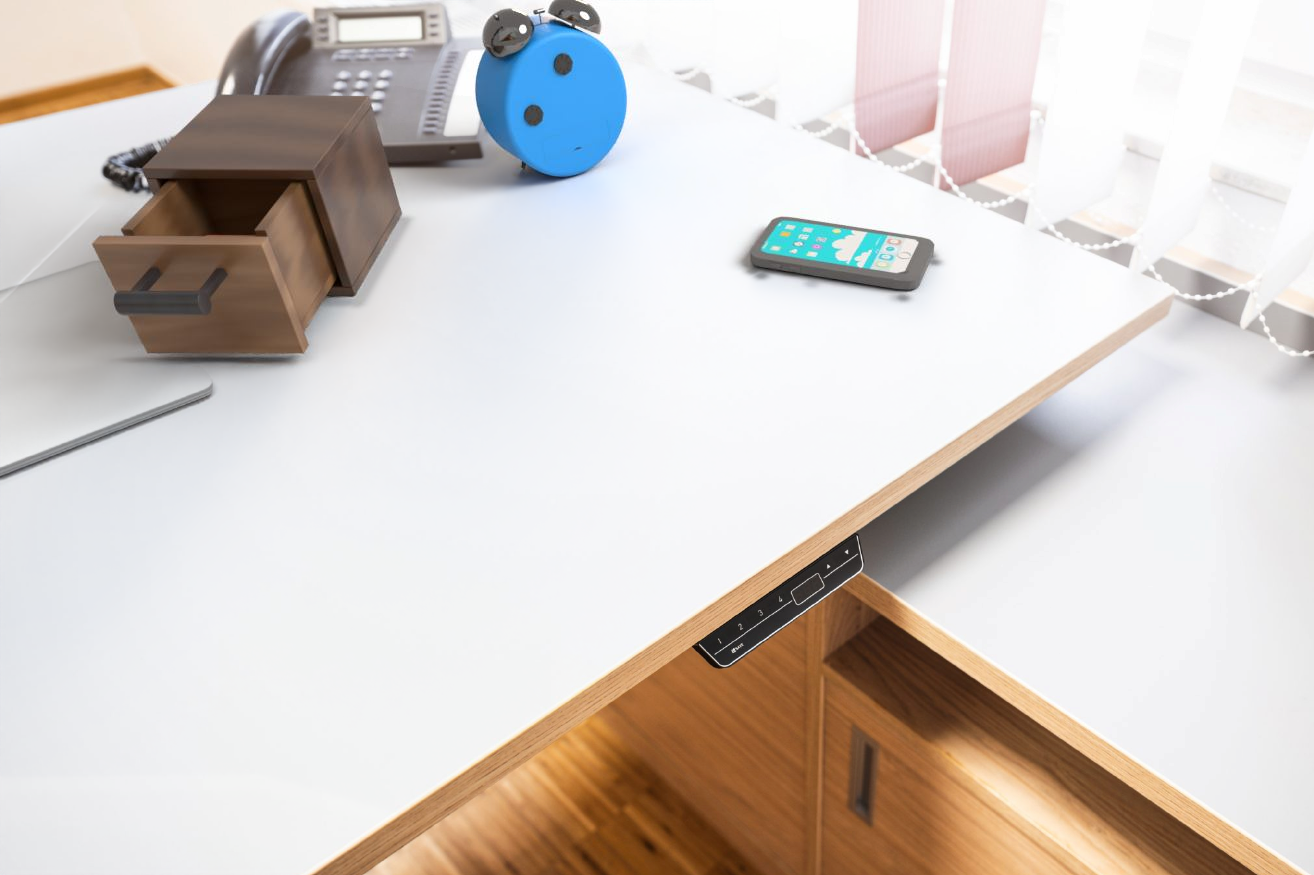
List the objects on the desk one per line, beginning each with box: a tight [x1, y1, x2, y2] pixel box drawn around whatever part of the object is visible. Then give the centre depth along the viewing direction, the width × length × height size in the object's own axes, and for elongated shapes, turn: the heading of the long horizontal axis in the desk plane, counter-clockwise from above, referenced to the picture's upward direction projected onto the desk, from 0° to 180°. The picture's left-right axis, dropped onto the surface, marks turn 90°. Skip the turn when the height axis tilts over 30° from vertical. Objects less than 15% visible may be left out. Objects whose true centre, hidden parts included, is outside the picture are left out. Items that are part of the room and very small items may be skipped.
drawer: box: [91, 179, 339, 355], centre depth 77 cm, size 18×11×9 cm, turn 2°
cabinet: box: [141, 93, 403, 297], centre depth 87 cm, size 15×13×11 cm
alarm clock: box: [474, 0, 628, 177], centre depth 98 cm, size 13×6×15 cm, turn 131°
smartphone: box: [749, 216, 935, 291], centre depth 91 cm, size 9×1×15 cm
